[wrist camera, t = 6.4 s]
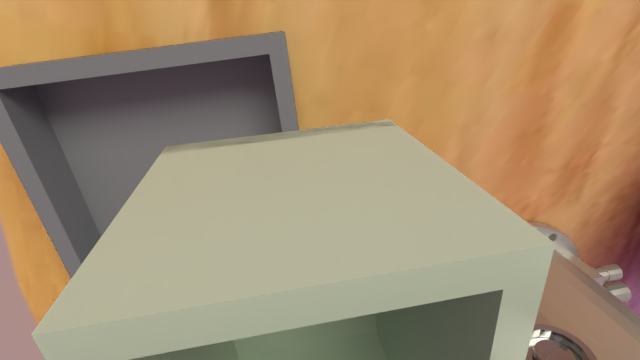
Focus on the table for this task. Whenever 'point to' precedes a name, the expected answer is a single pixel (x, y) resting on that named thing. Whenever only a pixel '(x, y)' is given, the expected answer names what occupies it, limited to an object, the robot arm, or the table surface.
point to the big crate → (131, 122)
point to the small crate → (304, 258)
